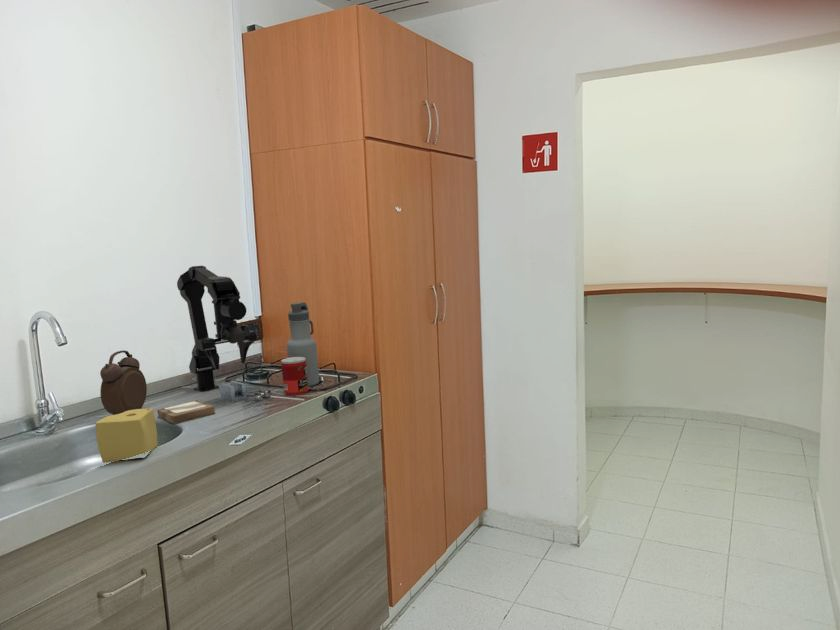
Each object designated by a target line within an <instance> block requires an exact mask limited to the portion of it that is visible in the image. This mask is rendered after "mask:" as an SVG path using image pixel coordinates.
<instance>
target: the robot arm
mask: <svg viewBox="0 0 840 630" xmlns="http://www.w3.org/2000/svg"><path fill="white" fill-rule="evenodd" d="M176 287H177V290H178V291H179V294H180V296H181V298H182V299H183V300H184V301H185V302H186V303H187V308H188V313H189V319H190V323H191V329H192V334H193V339H194V340H193V341H194V345H193V349H192V350H191V358H190V361H189V366H188V369H189V372H190V373H191V374H194V375H196V384H197V386H194V387H193V388H194V390H197V391H199V392H200V391H201V392H204V391H207V390H208V391H209V390H212V389H216V388H217V389H218V388H219V384H216V383H215V382H216V380H215V375H214V371H215V370H217V371H218V370H219V369H220V355H219V353H218V349H217V346H216V345H221V344H226V343H230V344H232V345H233V344H236V343H237V344H238V348H239V349H238V350H239V356H240V361H241V364H245V363H246V358H247V355H248V351H249V348H250V347H251V345H252V344H254V343H255V341H258V340H259V338H258V336H259V335H258V333H257V331H254V330H251V329H250V326H249V325H248V324H244V325H241V326H239V325H238V322H237V321H239V320H242V319H244V318H245V316H246V315H247V307H246V305H245V304H244V303H243V302H242V301H240V299H241V296H240V294H241V293H240V291H239V289H238V287H237V286H236V284H235V282H234V281H233V279H232V278H231V277H228V276H218V275H217V274H215V273H214V272H212V271H211V270H209V269H208V268H207V266H206V265H205V266H204V265H194V266H190V267H189V268H188V269H187V270H186V271H185V272H183V273H182V274H180V275H179V278H178V279H177V281H176ZM205 287H206V289H207V293H208V294H209V296H210V297H211V299H212V300H211V303H212V304H213V311H214V318H215V319H214V320H215V321H213V324H214V326H215V329H216V334H214V335H215V337H214V338H213V337H209V332H208V327H207V323H206V322H207V321H206V316H205V312H204V306H203V301H202V299H203V297H204V295H205V291H206V289H205Z"/></svg>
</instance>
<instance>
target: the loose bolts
mask: <svg viewBox="0 0 840 630" xmlns="http://www.w3.org/2000/svg"><path fill="white" fill-rule="evenodd" d="M271 394H272V391H271V390H270V389H269V390H266V389H259V390H258V392H257V391H256V392H254V394H253V401H254V402H261V401H263V399H264V398H267V399H268V398H270V397H271Z"/></svg>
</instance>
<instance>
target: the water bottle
mask: <svg viewBox="0 0 840 630" xmlns="http://www.w3.org/2000/svg"><path fill="white" fill-rule="evenodd" d="M290 308H291V310H290V311H289V312H288V313H287V317H288V318H287V319H288V322H289V331H290V339H289V340H288V341H287V343H286V350H287V351H286V352H287V358H290V357H304V358H305V359H306V367H307V378H308V388H310V387H313V386H316V385H318V384H319V382H320V371H319V362H318V349H317V340H315V339H314V338H312V335H313V334H314V323H313V321H312V320H311V318H310V311H309V308H308V305H307V303H306V302H304V301H302V302H293V303H290Z"/></svg>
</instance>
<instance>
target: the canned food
mask: <svg viewBox="0 0 840 630" xmlns="http://www.w3.org/2000/svg"><path fill="white" fill-rule="evenodd" d="M280 362H281V363H280V364H281V365H280V367H281V373H282V383H283V391H284V394H285V395H287V396H298V395H305V394H306V393H307V392H309V387H308V378H307V367H306V359H305V358H304V357H290V358H288V357H286V358H283V359H281V360H280Z"/></svg>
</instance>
